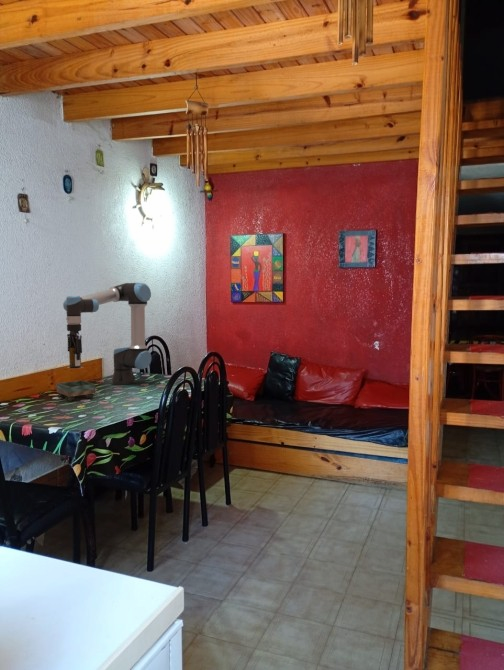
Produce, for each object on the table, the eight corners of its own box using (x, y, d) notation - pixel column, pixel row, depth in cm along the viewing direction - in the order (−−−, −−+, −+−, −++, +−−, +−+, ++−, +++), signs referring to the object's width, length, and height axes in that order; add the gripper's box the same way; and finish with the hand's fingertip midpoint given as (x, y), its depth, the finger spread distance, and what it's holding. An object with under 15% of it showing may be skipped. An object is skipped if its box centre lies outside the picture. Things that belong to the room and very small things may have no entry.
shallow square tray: (82, 393, 309) (81, 380, 309) (95, 398, 297) (95, 384, 296) (56, 397, 299) (56, 383, 299) (69, 402, 287) (68, 387, 286)
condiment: (79, 366, 301) (78, 345, 300) (84, 368, 295) (84, 346, 294) (66, 367, 297) (65, 346, 296) (71, 369, 290) (71, 347, 289)
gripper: (60, 323, 299) (61, 363, 301) (74, 325, 285) (75, 367, 287) (73, 322, 304) (74, 362, 306) (88, 324, 290) (89, 366, 292)
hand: (75, 365), depth 296 cm, fingers closed on condiment, 6 cm apart
